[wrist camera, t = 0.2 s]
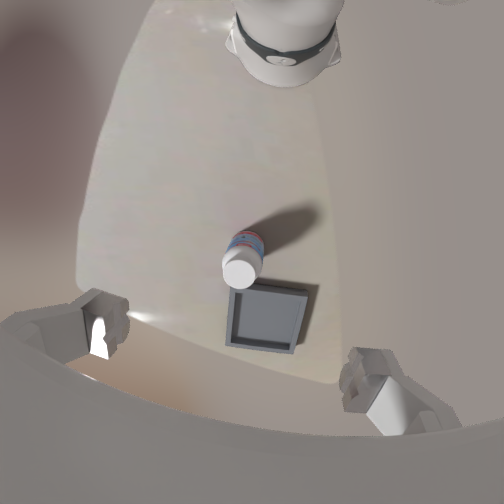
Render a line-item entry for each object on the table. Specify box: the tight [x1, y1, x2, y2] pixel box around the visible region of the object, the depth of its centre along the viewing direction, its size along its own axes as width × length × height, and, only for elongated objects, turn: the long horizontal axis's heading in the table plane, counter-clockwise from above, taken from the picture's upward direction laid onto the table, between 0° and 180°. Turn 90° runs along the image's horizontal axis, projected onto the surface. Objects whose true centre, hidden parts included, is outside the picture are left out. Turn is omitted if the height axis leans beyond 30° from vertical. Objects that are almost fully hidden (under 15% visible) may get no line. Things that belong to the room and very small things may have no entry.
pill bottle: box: [222, 231, 264, 289], centre depth 44 cm, size 6×6×11 cm
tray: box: [225, 283, 308, 354], centre depth 54 cm, size 14×14×2 cm
